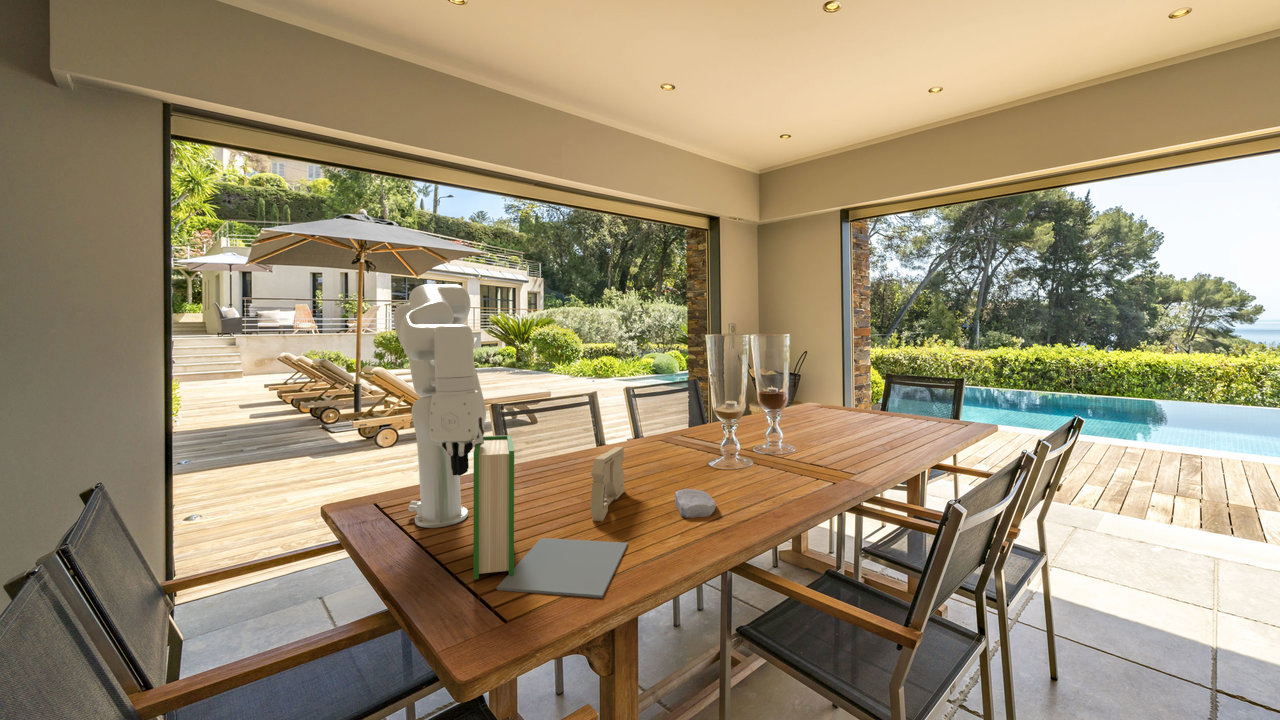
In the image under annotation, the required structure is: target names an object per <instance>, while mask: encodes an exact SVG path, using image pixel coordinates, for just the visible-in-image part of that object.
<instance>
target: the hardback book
mask: <svg viewBox="0 0 1280 720" xmlns="http://www.w3.org/2000/svg"><path fill="white" fill-rule="evenodd" d="M512 437H513V435H510V434H508V435H507V434H506V435H505V434H504V435H483V440H484V444H483V445H481V446H480V444H475V447H473V580H477V579H478V580H479V577H480V574H489V573H498V572H499V573H500V572H508V574H509V575H514V568H515V448H514V443H513V442H514V441H513V438H512Z"/></svg>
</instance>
